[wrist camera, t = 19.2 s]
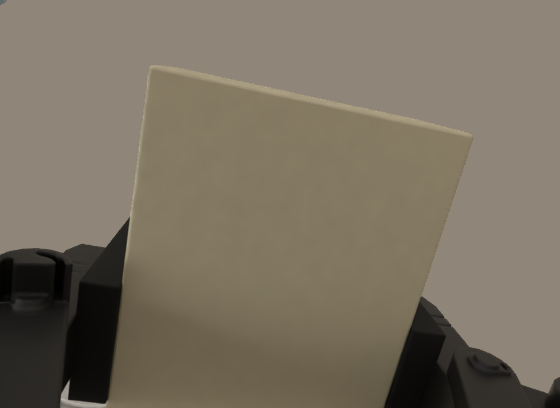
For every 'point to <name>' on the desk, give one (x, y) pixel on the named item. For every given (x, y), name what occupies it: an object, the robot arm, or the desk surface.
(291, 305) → the book
